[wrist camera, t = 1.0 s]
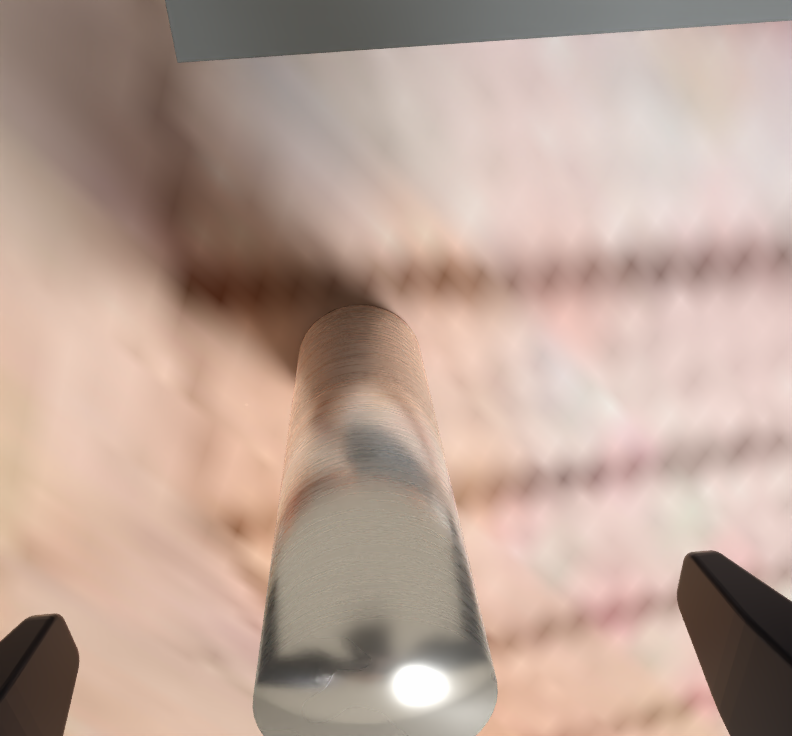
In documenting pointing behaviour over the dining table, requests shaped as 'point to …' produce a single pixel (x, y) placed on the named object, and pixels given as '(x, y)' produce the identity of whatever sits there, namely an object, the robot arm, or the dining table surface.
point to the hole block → (428, 22)
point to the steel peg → (369, 552)
